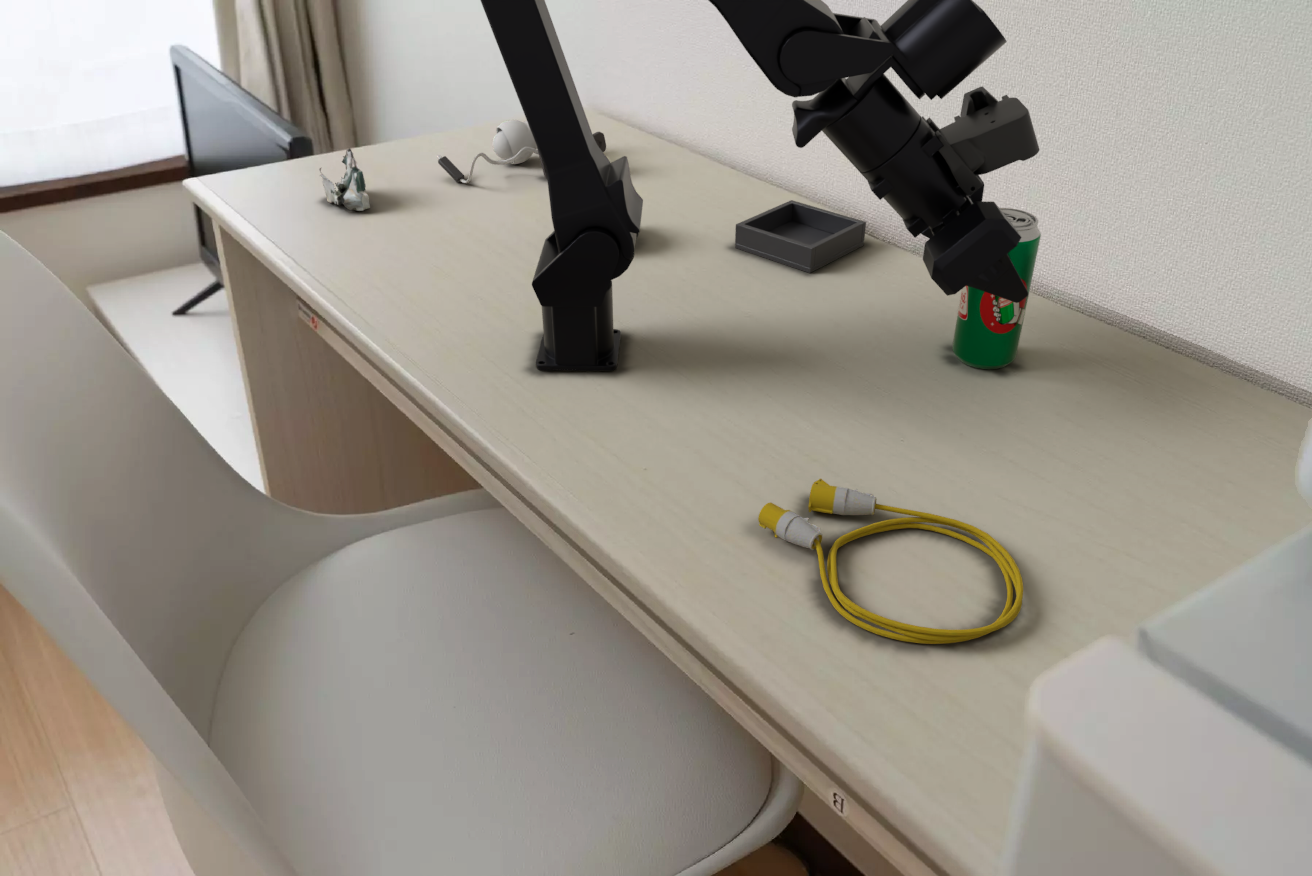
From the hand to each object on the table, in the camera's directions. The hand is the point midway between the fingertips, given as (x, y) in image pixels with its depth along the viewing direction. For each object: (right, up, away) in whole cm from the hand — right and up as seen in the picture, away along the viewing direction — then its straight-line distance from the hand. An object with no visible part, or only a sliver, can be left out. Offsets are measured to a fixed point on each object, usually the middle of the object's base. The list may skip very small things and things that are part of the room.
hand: (1014, 283), depth 83 cm
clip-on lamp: (-44, +19, +43) cm, 64 cm away
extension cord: (-13, -20, -18) cm, 30 cm away
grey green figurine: (-62, +14, +34) cm, 72 cm away
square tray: (-14, +7, +23) cm, 28 cm away
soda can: (-1, -6, +4) cm, 7 cm away
